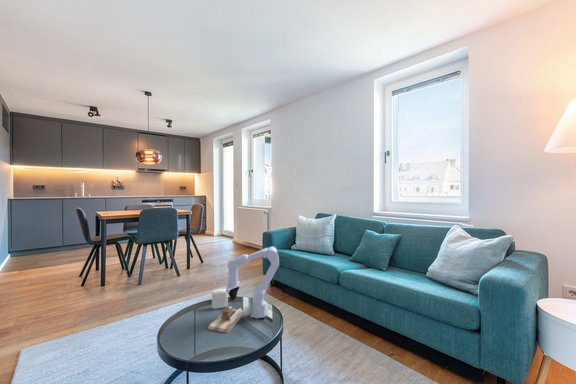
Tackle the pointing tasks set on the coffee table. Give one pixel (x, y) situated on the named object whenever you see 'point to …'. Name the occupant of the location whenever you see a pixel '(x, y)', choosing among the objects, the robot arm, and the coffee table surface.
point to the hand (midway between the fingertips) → (233, 299)
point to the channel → (232, 315)
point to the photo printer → (219, 298)
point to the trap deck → (225, 323)
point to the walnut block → (227, 313)
